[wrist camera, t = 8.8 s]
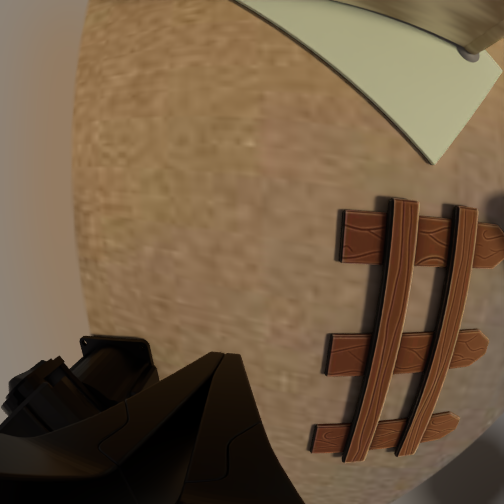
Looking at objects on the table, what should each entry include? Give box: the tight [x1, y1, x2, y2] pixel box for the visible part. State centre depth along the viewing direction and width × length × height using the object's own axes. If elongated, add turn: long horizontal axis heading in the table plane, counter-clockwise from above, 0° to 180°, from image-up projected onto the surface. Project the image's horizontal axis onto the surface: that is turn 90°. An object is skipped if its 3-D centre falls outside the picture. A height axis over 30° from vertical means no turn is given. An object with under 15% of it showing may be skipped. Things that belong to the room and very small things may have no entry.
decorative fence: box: [310, 198, 504, 463], centre depth 22 cm, size 23×2×15 cm
